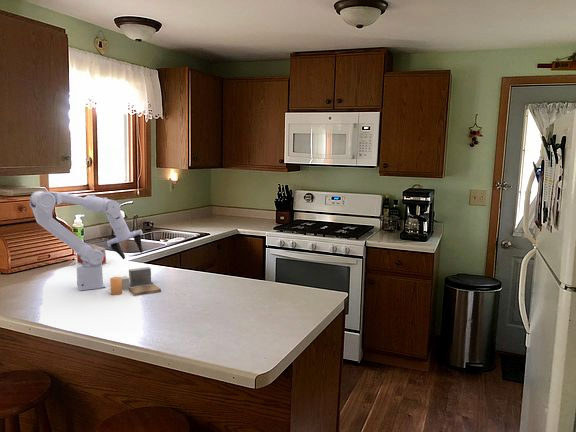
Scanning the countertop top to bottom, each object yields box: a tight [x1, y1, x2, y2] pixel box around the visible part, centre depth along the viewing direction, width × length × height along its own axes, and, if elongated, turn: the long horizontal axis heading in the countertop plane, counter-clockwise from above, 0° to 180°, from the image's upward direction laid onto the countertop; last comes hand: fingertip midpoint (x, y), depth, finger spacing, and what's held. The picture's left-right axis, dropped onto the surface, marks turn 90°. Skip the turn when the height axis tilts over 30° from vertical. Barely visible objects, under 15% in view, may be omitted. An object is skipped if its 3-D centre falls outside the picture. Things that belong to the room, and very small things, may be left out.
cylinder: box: [109, 276, 123, 296], centre depth 180 cm, size 4×4×6 cm
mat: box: [128, 283, 162, 297], centre depth 183 cm, size 10×9×1 cm
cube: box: [120, 275, 130, 291], centre depth 186 cm, size 4×4×4 cm
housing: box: [128, 266, 154, 287], centre depth 193 cm, size 9×4×6 cm, turn 120°
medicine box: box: [76, 244, 107, 265], centre depth 234 cm, size 15×8×8 cm, turn 47°
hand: (132, 254), depth 200 cm, fingers open, 7 cm apart
